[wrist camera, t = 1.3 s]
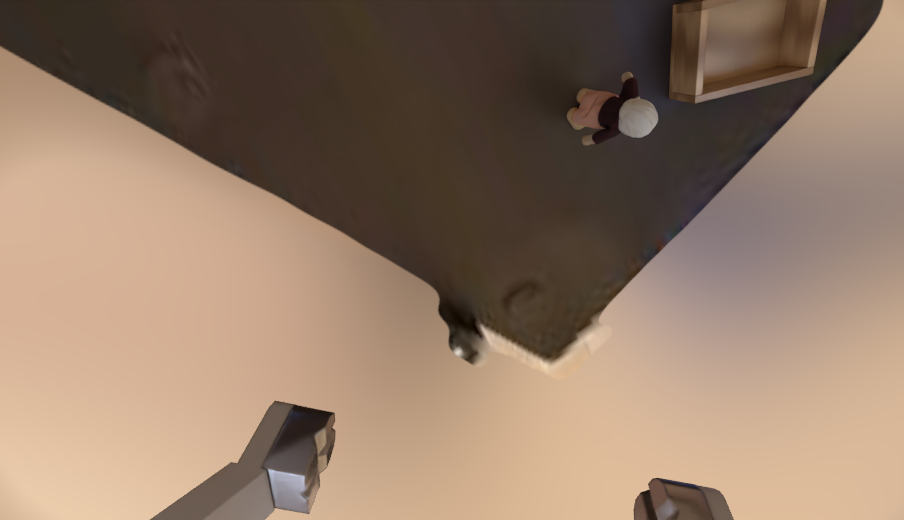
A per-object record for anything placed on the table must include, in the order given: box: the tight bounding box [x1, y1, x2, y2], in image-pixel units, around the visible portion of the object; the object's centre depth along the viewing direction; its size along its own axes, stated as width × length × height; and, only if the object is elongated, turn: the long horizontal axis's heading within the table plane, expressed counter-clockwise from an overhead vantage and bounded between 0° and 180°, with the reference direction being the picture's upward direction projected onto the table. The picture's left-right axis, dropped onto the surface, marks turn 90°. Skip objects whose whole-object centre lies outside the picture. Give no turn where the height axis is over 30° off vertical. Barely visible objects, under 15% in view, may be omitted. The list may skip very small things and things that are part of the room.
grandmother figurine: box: [567, 72, 658, 145], centre depth 42 cm, size 8×4×13 cm, turn 164°
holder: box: [669, 0, 827, 104], centre depth 45 cm, size 10×14×5 cm
